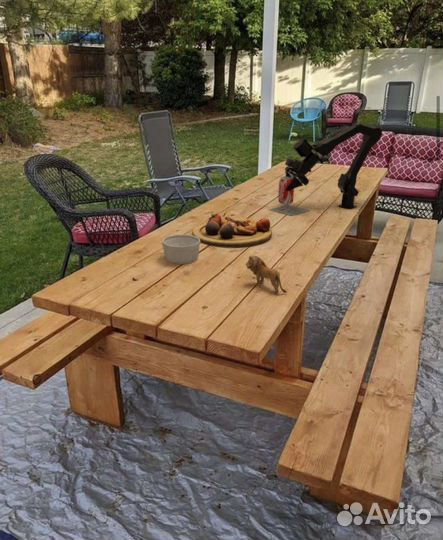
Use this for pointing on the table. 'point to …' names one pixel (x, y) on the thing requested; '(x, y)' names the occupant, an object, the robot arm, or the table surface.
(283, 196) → the soda can
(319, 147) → the robot arm
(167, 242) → the ramekin
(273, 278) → the lion figurine
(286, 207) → the gray board
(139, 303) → the table surface
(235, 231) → the wooden plate with food
